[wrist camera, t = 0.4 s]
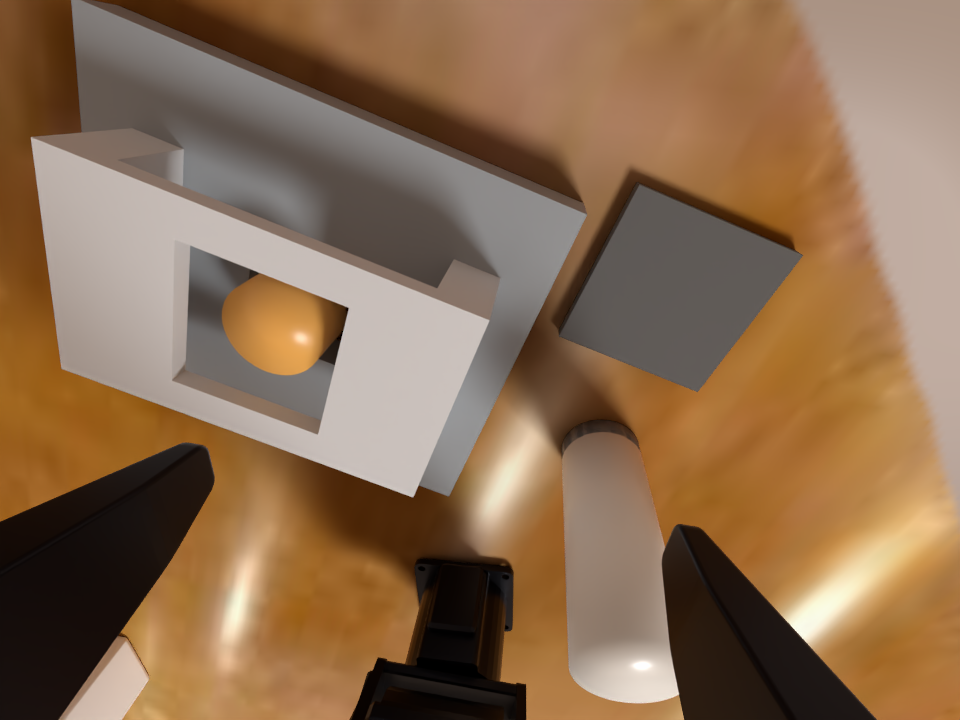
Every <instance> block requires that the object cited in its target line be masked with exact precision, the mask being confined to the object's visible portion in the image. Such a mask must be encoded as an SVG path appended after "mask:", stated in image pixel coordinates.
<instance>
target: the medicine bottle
mask: <svg viewBox="0 0 960 720" xmlns="http://www.w3.org/2000/svg"><path fill="white" fill-rule="evenodd" d="M148 680H149V675H148V674H147V672H146V670H145V668H144V667H143V665H142V663H141V661H140V660H139V658H138V656H137V654H136V653H135V651H134V649H133V647H132V646H131V644H130V642H129V640H128V639H127V638H126V637H121V636H117V638H116V639H115V641H114V642H113V643H112V645H111V646H110V648H109V649H108V651H107V652H106V653H105V655H104V656H103V658H102V659H101V660H100V662H99V663H98V665H97V666H96V668H95V669H94V670H93V672H92V673H91V675H90V676H89V677H88V679H87V680H86V682H85V683H84V685H83V686H82V687H81V689H80V690H79V692H78V693H77V694H76V696H75V697H74V699H73V700H72V702H71V703H70V704H69V706H68V707H67V709H66V710H65V711H64V713H63V714H62V716H61V717H60V719H59V720H122V719H123V717H124V716H125V714H126V713H127V711H128V710H129V708H130V707H131V705H132V704H133V702H134V701H135V699H136V698H137V697H138V695H139V694H140V692H141V691H142V689H143V688H144V686H145V685H146V683H147V682H148Z"/></svg>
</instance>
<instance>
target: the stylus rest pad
mask: <svg viewBox="0 0 960 720" xmlns="http://www.w3.org/2000/svg"><path fill="white" fill-rule="evenodd" d="M802 256H803V255H802V254H800V253H799V252H797V251H795V250H793V249H791V248H788V247H786V246H784V245H781V244H779V243H777V242H774V241H772V240H770V239H768V238H765V237H763V236H761V235H758V234H756V233H754V232H751V231H749V230H747V229H744V228H742V227H740V226H737V225H735V224H733V223H731V222H728V221H726V220H724V219H721V218H719V217H717V216H714V215H712V214H710V213H707V212H705V211H703V210H700V209H698V208H696V207H694V206H691V205H689V204H687V203H684V202H682V201H680V200H677V199H675V198H673V197H670V196H668V195H666V194H663V193H661V192H659V191H657V190H654V189H652V188H650V187H647V186H645V185H643V184H640V183H638V182H637V183H636V185H635V187H634V189H633V191H632V192H631V194H630V196H629V198H628V200H627V202H626V204H625V206H624V208H623V210H622V211H621V213H620V215H619V217H618V219H617V221H616V223H615V225H614V227H613V228H612V230H611V232H610V234H609V236H608V238H607V240H606V242H605V244H604V246H603V247H602V249H601V251H600V253H599V255H598V257H597V259H596V261H595V263H594V264H593V266H592V268H591V270H590V272H589V274H588V276H587V278H586V280H585V282H584V283H583V285H582V287H581V289H580V291H579V293H578V295H577V297H576V299H575V301H574V302H573V304H572V306H571V308H570V310H569V312H568V314H567V316H566V318H565V319H564V321H563V323H562V325H561V327H560V329H559V337H562V338H564V339H567V340H569V341H572V342H574V343H577V344H579V345H582V346H584V347H587V348H589V349H592V350H594V351H597V352H599V353H602V354H604V355H607V356H609V357H612V358H614V359H617V360H619V361H622V362H624V363H627V364H629V365H632V366H634V367H637V368H639V369H642V370H644V371H647V372H649V373H652V374H654V375H657V376H659V377H662V378H664V379H667V380H669V381H672V382H674V383H677V384H679V385H682V386H684V387H686V388H689V389H691V390H694V391H696V392H698V391H699V390H700V388H701V387H702V386H703V384H704V383H705V382H706V380H707V379H708V378H709V377H710V375H711V374H712V373H713V371H714V370H715V369H716V368H717V366H718V365H719V364H720V362H721V361H722V360H723V358H724V357H725V356H726V355H727V353H728V352H729V351H730V349H731V348H732V347H733V346H734V344H735V343H736V342H737V340H738V339H739V338H740V336H741V335H742V334H743V333H744V331H745V330H746V329H747V327H748V326H749V325H750V324H751V322H752V321H753V320H754V318H755V317H756V316H757V314H758V313H759V312H760V311H761V309H762V308H763V307H764V305H765V304H766V303H767V302H768V300H769V299H770V298H771V296H772V295H773V294H774V292H775V291H776V290H777V289H778V287H779V286H780V285H781V283H782V282H783V281H784V280H785V278H786V277H787V276H788V274H789V273H790V272H791V270H792V269H793V268H794V267H795V265H796V264H797V263H798V261H799V260H800V259H801V258H802Z"/></svg>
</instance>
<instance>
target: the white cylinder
mask: <svg viewBox="0 0 960 720" xmlns="http://www.w3.org/2000/svg"><path fill="white" fill-rule="evenodd" d="M562 477H563V507H564V537H565V567H566V597H567V628H568V658H569V671H570V674H571V676H572V678H573V679H574V680H575V681H576V683H577V684H578V685H580V686H581V687H582V688H584V689H585V690H587V691H588V692H590V693H592V694H594V695H597V696H600V697H602V698H606V699H609V700H613V701H619V702H626V703H650V702H657V701H662V700H666V699H669V698H672V697H675V696H677V695H679V692H678V687H677V682H676V677H675V673H674V668H673V662H672V657H671V651H670V643H669V635H668V625H667V615H666V605H665V595H664V585H663V575H662V555H663V552H664V549H665V546H664V543H663V539H662V535H661V531H660V527H659V523H658V519H657V515H656V511H655V507H654V503H653V499H652V495H651V491H650V487H649V483H648V479H647V475H646V471H645V467H644V463H643V459H642V455H641V451H640V447H639V443H638V440H637V438H636V436H635V435H634V433H633V432H632V431H631V430H630V429H628V428H627V427H625V426H624V425H622V424H620V423H617V422H614V421H610V420H592V421H588V422H585V423H582V424H580V425H578V426H576V427H575V428H573V429H572V430H571V431H570V432H569V433H568V434H567V435H566V437H565V438H564V440H563V443H562Z"/></svg>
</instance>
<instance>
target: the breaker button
mask: <svg viewBox="0 0 960 720" xmlns="http://www.w3.org/2000/svg"><path fill="white" fill-rule="evenodd" d="M345 321H346V307H345V306H343V305H340V304H338V303H335V302H333V301H330V300H328V299H325V298H323V297H320V296H317V295H315V294H312V293H310V292H307V291H305V290H302V289H300V288H297V287H295V286H292V285H289V284H287V283H284V282H282V281H279V280H277V279H274V278H272V277H269V276H267V275H264V274H261V273H259V274H257V275H256V276H254V277H253V278H251V279H249V280H248V281H246V282H245V283H243V284H241V285H240V286H238V287H237V288H235V289H234V290H233V291H231V292H230V294H229V295H228V296H227V298H226V299H225V301H224V304H223V308H222V323H223V327H224V330H225V333H226V335H227V337H228V339H229V341H230V343H231V344H232V346H233V347H234V348H235V350H236V351H237V352H238V353H239V354H240V355H241V356H242V357H243V358H244V359H246V360H247V361H248V362H249V363H251V364H252V365H254V366H256V367H257V368H259V369H261V370H264V371H266V372H269V373H272V374H277V375H295V374H299V373H302V372H304V371H306V370H308V369H309V368H311V367H312V366H313V365H314V364H315V362H316V361H317V360H318V359H319V358H320V357H321V356H322V354H323V353H324V352H325V351H326V350H327V349H328V347H329V346H330V345H331V344H332V343H333V342H334V341H335V339H336V338H337V337H338V336H339V335H340V333H341V332H342V330H343V328H344V325H345Z"/></svg>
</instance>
